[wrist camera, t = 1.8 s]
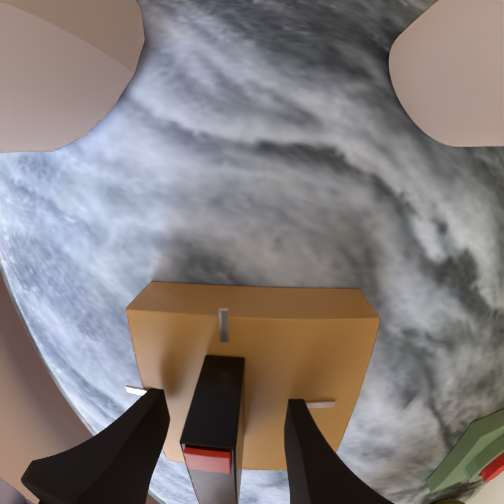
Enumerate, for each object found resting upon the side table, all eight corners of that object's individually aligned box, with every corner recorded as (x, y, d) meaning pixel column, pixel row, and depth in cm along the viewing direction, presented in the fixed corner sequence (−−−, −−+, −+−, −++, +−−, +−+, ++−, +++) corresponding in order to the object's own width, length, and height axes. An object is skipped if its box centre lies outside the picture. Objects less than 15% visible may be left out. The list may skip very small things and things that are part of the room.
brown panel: (323, 434, 16) (330, 469, 13) (164, 425, 16) (152, 459, 13) (360, 281, 13) (384, 311, 10) (134, 272, 13) (104, 299, 10)
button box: (478, 459, 19) (488, 478, 15) (425, 480, 19) (435, 504, 15) (521, 399, 16) (538, 420, 12) (471, 422, 16) (488, 449, 12)
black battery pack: (244, 437, 12) (237, 515, 8) (212, 435, 12) (198, 511, 8) (245, 356, 11) (235, 455, 6) (205, 353, 11) (176, 448, 6)
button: (494, 465, 15) (499, 474, 13) (474, 476, 15) (479, 486, 13) (511, 446, 14) (517, 456, 12) (491, 457, 14) (497, 468, 12)
